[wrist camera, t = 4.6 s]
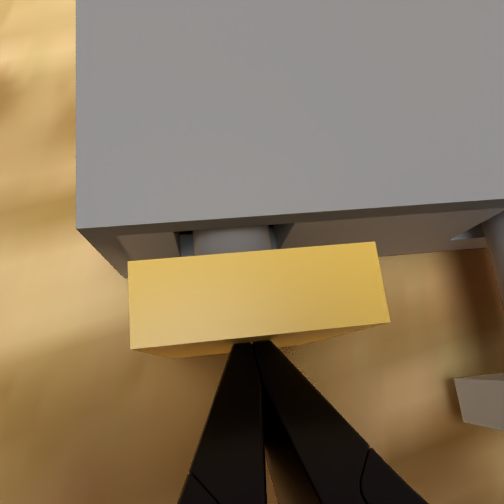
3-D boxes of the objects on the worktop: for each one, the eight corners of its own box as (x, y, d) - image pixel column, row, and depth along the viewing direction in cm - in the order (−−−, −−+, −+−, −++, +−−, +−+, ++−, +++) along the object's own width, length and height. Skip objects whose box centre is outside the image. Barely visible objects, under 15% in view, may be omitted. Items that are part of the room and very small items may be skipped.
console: (549, 242, 18) (704, 184, 13) (124, 278, 16) (76, 228, 10) (496, 66, 21) (607, -52, 15) (118, 77, 18) (75, -54, 13)
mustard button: (299, 345, 15) (390, 322, 7) (173, 358, 15) (130, 349, 7) (269, 113, 18) (313, -85, 10) (159, 117, 17) (115, -88, 9)
